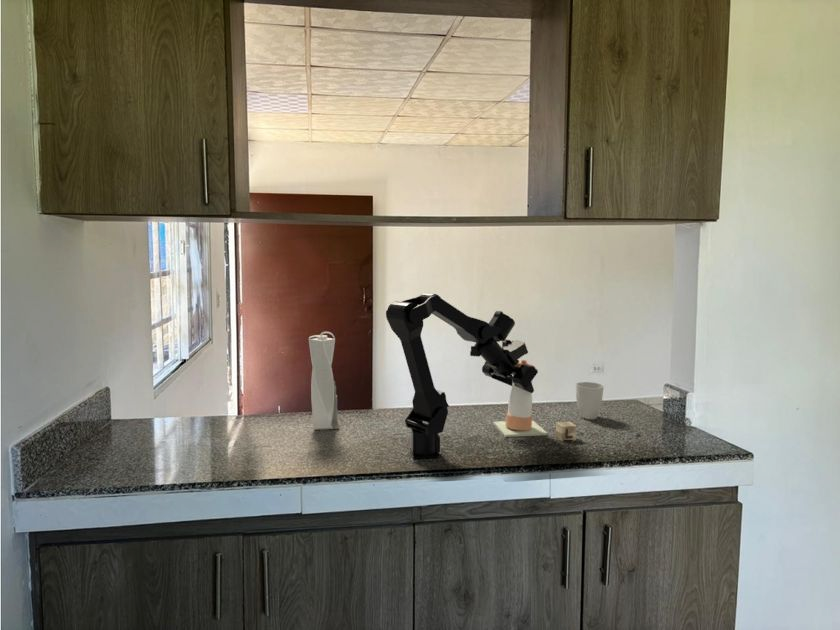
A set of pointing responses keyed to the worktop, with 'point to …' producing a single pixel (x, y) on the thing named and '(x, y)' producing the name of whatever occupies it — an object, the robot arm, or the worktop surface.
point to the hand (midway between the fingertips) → (524, 389)
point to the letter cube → (565, 431)
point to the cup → (589, 399)
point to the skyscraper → (323, 383)
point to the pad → (508, 432)
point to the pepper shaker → (519, 407)
